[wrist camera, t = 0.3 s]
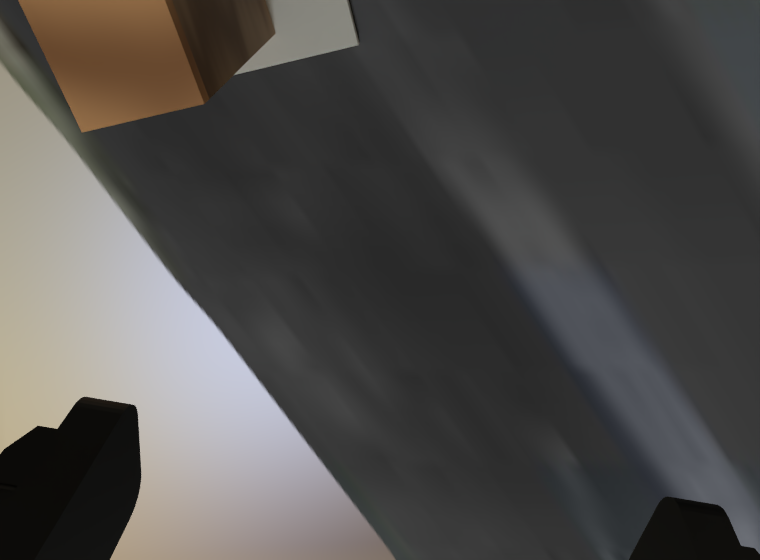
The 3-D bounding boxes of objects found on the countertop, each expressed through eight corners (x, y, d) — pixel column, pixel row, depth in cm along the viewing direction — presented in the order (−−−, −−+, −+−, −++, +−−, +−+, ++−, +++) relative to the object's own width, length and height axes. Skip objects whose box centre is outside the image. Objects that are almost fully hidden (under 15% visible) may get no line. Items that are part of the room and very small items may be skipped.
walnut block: (147, -47, 33) (14, -8, 23) (242, -74, 32) (147, -45, 22) (186, 55, 36) (82, 132, 25) (275, 33, 35) (204, 103, 24)
